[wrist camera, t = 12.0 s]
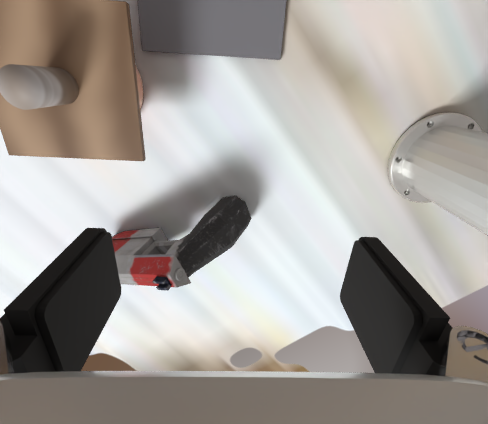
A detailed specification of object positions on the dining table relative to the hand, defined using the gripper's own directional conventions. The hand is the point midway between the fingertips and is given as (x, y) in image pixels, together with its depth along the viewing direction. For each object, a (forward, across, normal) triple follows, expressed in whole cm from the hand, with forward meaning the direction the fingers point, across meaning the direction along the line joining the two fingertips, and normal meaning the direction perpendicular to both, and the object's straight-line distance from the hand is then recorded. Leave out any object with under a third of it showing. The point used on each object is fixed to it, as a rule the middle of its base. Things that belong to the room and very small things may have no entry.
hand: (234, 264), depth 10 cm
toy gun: (+29, +9, +15) cm, 34 cm away
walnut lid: (+21, +17, -5) cm, 28 cm away
